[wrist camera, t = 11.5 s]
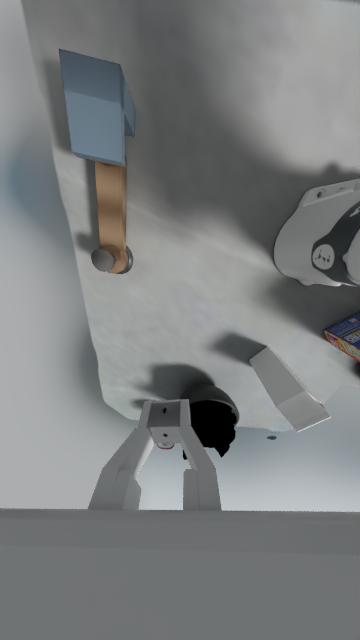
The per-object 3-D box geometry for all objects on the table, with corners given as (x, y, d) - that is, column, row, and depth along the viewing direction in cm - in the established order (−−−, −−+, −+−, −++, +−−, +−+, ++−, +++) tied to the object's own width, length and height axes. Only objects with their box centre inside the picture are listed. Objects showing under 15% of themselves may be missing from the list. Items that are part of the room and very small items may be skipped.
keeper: (89, 97, 22) (58, 48, 17) (134, 108, 23) (119, 64, 17) (95, 171, 26) (71, 151, 20) (134, 179, 26) (121, 162, 21)
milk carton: (248, 359, 46) (287, 426, 29) (267, 345, 43) (321, 409, 26) (262, 370, 48) (305, 437, 31) (280, 357, 45) (339, 423, 28)
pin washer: (122, 234, 30) (122, 234, 30) (138, 267, 33) (138, 267, 33) (95, 247, 32) (94, 247, 32) (112, 278, 35) (112, 278, 34)
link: (129, 273, 34) (117, 278, 28) (104, 268, 33) (88, 273, 27) (131, 147, 24) (115, 115, 18) (97, 138, 24) (69, 103, 18)
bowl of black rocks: (237, 374, 49) (266, 441, 32) (220, 409, 58) (236, 475, 41) (179, 367, 48) (177, 433, 31) (171, 404, 57) (167, 470, 40)
